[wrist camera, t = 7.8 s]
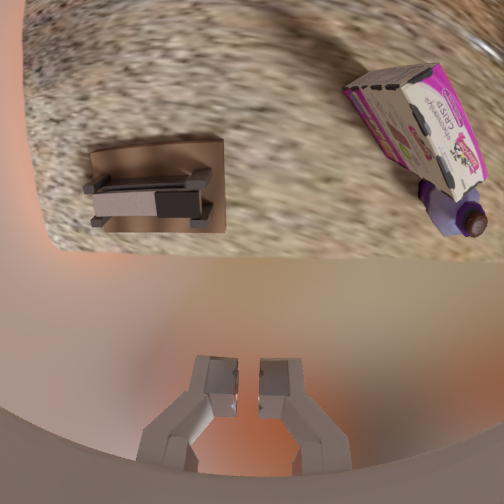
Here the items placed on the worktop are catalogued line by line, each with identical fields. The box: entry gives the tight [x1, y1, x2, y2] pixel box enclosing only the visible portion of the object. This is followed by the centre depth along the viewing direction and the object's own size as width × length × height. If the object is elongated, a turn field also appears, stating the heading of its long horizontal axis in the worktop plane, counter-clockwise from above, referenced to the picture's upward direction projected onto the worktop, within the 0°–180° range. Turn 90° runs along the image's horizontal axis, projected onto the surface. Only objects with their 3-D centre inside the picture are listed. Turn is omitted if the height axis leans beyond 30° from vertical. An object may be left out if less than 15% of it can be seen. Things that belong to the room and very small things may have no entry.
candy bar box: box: [342, 63, 489, 202], centre depth 23 cm, size 11×5×16 cm, turn 40°
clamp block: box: [83, 168, 214, 228], centre depth 33 cm, size 16×6×5 cm, turn 90°
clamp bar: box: [92, 188, 202, 218], centre depth 31 cm, size 14×3×1 cm, turn 90°
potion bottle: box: [418, 179, 488, 238], centre depth 30 cm, size 9×9×12 cm
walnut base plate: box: [90, 139, 226, 233], centre depth 36 cm, size 18×12×2 cm, turn 90°
